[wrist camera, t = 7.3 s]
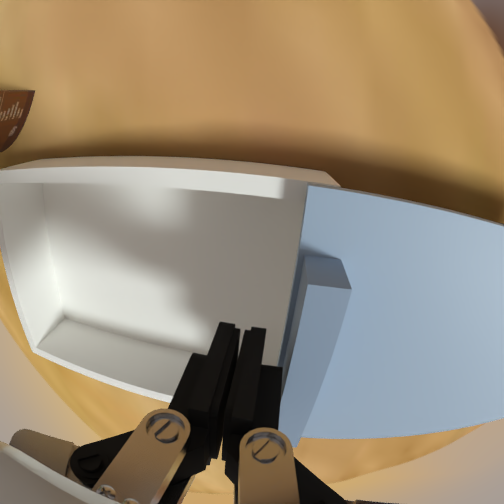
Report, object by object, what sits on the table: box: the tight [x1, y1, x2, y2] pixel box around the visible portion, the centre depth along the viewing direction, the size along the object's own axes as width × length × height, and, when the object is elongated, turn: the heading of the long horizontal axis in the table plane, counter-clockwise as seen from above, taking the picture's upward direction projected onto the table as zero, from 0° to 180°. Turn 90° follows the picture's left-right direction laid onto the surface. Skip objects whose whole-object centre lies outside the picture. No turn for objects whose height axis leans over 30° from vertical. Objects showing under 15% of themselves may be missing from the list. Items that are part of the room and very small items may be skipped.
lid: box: [277, 183, 504, 447], centre depth 10 cm, size 12×17×3 cm
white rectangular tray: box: [0, 156, 341, 403], centre depth 14 cm, size 12×17×4 cm
